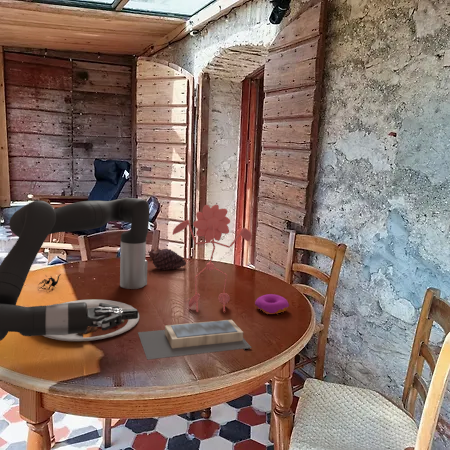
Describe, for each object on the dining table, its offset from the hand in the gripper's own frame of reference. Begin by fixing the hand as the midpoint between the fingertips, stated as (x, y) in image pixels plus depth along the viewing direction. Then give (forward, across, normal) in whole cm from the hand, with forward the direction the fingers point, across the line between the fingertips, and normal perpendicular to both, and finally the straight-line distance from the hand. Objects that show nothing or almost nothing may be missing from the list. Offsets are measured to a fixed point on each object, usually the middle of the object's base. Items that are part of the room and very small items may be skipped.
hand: (137, 313), depth 109 cm
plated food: (-12, +19, +10) cm, 24 cm away
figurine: (+27, +25, +9) cm, 38 cm away
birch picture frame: (+8, 0, +7) cm, 11 cm away
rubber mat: (+15, -1, +9) cm, 18 cm away
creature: (-24, +54, +10) cm, 60 cm away
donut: (+48, +16, +9) cm, 51 cm away
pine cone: (+23, +70, +9) cm, 74 cm away
